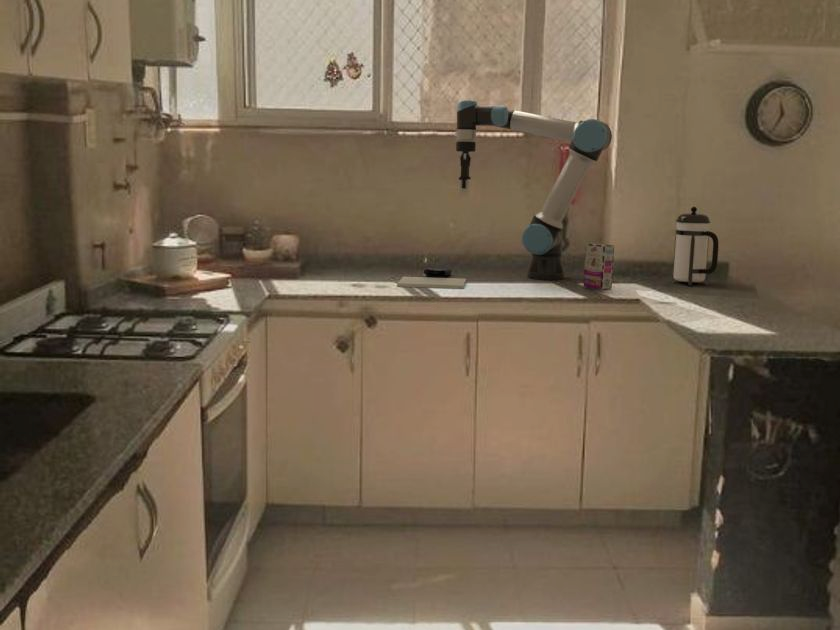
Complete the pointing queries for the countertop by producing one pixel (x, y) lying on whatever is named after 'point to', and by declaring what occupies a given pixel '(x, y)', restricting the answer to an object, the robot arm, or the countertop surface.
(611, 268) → the candy bar box
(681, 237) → the coffee press
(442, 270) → the flask
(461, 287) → the beige flat panel
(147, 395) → the countertop surface
